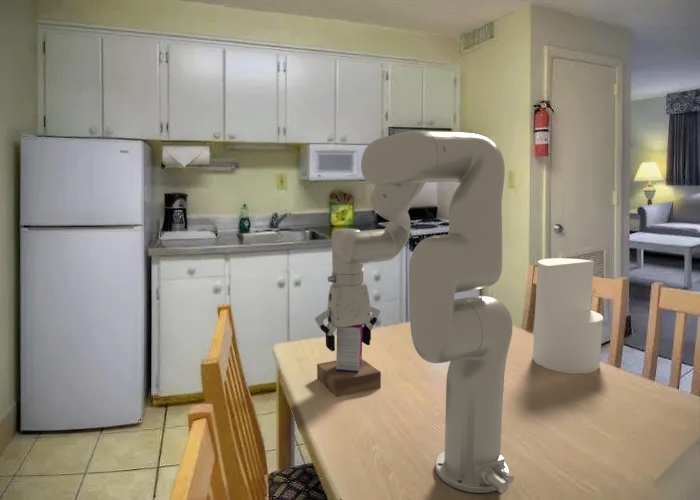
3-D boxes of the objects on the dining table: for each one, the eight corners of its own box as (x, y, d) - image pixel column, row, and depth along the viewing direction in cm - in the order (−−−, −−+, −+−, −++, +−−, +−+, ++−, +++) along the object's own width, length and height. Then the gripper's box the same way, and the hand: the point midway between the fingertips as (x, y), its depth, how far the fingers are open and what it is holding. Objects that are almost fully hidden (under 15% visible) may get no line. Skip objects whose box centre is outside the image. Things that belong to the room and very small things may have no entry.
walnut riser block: (380, 387, 123) (380, 372, 122) (336, 397, 118) (336, 381, 117) (358, 370, 134) (358, 356, 133) (317, 378, 128) (317, 363, 128)
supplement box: (359, 373, 122) (359, 328, 120) (335, 371, 123) (335, 326, 121) (362, 364, 127) (362, 321, 126) (340, 362, 128) (339, 320, 127)
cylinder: (519, 356, 144) (524, 260, 140) (563, 347, 151) (568, 256, 147) (568, 378, 128) (574, 271, 124) (614, 367, 135) (622, 266, 131)
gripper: (321, 285, 115) (322, 356, 117) (386, 278, 122) (386, 345, 124) (309, 280, 121) (310, 347, 124) (371, 273, 129) (372, 337, 131)
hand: (348, 346), depth 124 cm, fingers open, 9 cm apart
